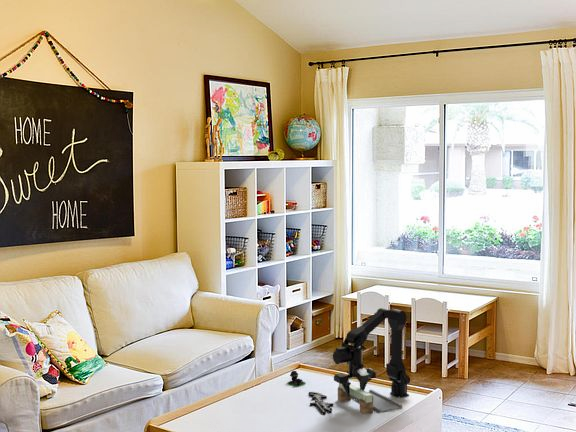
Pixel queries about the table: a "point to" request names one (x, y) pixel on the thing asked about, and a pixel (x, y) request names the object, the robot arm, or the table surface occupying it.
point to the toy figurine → (295, 380)
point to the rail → (358, 393)
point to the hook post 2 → (366, 407)
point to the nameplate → (320, 402)
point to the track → (381, 402)
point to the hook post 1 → (343, 395)
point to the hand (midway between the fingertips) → (355, 395)
